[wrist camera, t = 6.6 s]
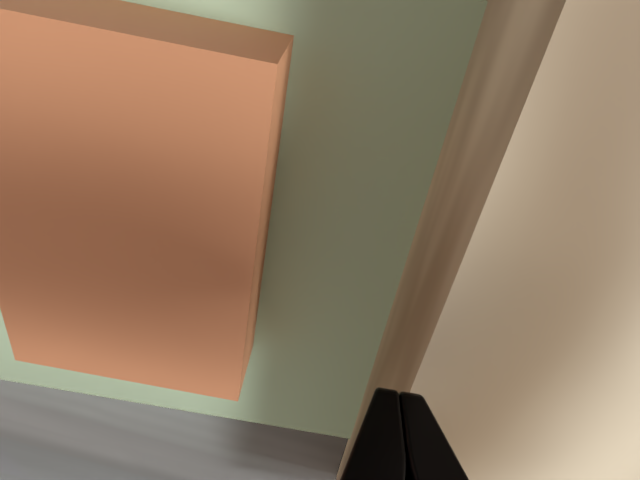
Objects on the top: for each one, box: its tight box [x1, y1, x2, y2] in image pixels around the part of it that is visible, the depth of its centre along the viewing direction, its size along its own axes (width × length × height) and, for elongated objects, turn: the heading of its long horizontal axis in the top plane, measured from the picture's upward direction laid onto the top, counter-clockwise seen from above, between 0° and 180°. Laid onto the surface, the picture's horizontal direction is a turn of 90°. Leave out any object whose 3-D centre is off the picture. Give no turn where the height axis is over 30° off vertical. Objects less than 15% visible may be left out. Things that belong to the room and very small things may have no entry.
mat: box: [0, 0, 488, 439], centre depth 13 cm, size 14×14×1 cm
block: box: [0, 0, 294, 401], centre depth 11 cm, size 6×9×2 cm, turn 170°
